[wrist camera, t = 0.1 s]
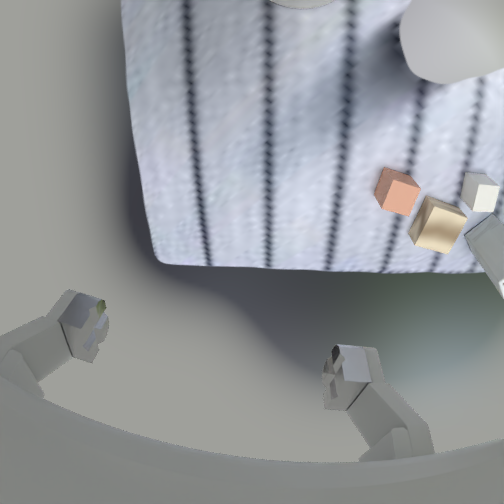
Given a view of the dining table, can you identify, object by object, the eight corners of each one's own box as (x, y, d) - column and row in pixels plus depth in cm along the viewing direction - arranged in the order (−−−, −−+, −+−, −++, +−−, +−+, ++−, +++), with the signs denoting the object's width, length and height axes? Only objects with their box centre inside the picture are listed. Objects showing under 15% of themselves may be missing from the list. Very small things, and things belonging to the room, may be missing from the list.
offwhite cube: (465, 171, 42) (478, 184, 38) (485, 174, 41) (499, 186, 37) (460, 197, 45) (472, 211, 41) (480, 198, 44) (493, 212, 40)
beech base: (425, 194, 46) (434, 206, 43) (458, 206, 46) (467, 218, 43) (407, 232, 51) (414, 245, 48) (440, 241, 51) (447, 254, 48)
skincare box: (471, 252, 51) (502, 303, 40) (463, 233, 49) (497, 284, 37) (500, 230, 47) (535, 277, 36) (493, 210, 45) (533, 257, 33)
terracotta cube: (383, 167, 44) (393, 179, 40) (409, 175, 44) (420, 188, 40) (373, 194, 47) (381, 208, 43) (399, 201, 47) (408, 216, 43)
